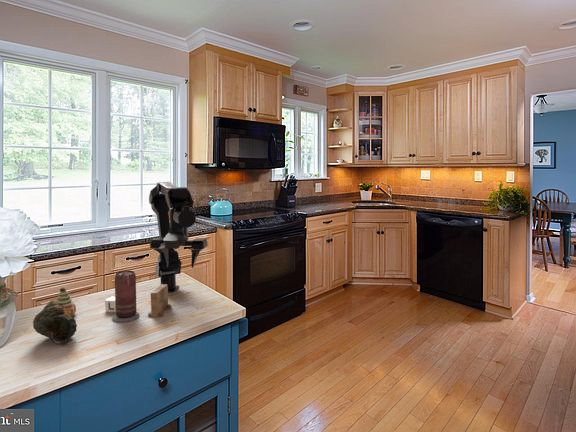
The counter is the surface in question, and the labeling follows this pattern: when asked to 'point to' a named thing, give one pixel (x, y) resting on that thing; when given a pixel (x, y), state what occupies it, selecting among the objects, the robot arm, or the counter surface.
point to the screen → (159, 301)
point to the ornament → (65, 302)
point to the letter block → (110, 304)
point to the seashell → (55, 323)
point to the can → (125, 294)
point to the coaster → (125, 318)
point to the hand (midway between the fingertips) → (179, 267)
